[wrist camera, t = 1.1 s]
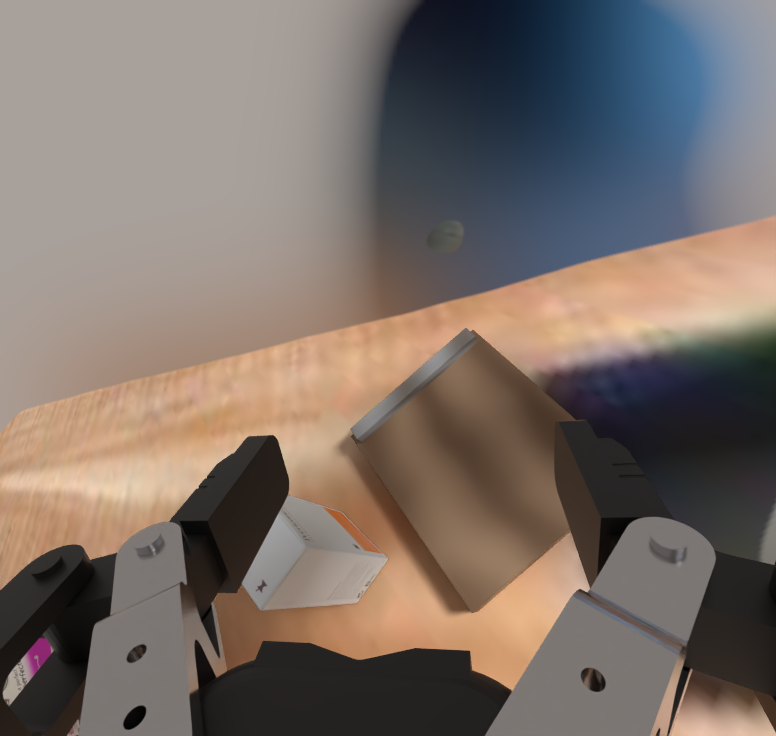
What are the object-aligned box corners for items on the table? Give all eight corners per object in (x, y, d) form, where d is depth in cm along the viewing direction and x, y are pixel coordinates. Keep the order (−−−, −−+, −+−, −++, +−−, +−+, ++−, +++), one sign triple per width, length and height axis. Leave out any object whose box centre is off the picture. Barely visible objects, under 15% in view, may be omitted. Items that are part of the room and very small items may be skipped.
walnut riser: (477, 340, 38) (470, 323, 35) (631, 477, 29) (637, 467, 26) (360, 442, 38) (345, 433, 35) (478, 611, 29) (468, 614, 26)
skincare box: (391, 557, 32) (309, 548, 22) (357, 604, 32) (258, 616, 22) (341, 508, 36) (250, 480, 26) (310, 549, 35) (205, 538, 25)
